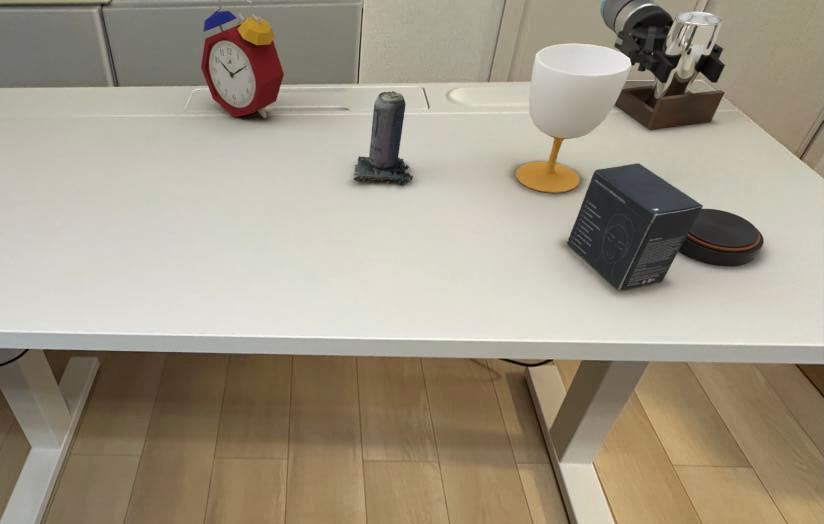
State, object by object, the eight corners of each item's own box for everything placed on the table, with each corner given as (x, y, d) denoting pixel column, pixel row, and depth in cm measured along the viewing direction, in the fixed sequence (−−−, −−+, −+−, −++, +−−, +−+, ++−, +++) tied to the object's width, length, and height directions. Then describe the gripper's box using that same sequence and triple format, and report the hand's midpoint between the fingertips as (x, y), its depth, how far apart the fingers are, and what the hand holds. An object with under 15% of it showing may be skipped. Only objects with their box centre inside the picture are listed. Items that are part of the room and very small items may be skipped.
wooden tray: (669, 96, 106) (681, 68, 103) (710, 122, 99) (725, 92, 95) (612, 103, 105) (622, 74, 102) (649, 129, 98) (662, 99, 94)
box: (665, 281, 70) (706, 205, 63) (617, 292, 69) (653, 216, 62) (608, 233, 77) (639, 160, 70) (564, 243, 76) (590, 169, 69)
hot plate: (719, 216, 79) (728, 200, 77) (775, 259, 72) (786, 243, 70) (650, 226, 78) (658, 210, 77) (700, 271, 71) (710, 255, 69)
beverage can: (403, 160, 94) (411, 84, 85) (414, 185, 88) (423, 105, 80) (346, 164, 94) (349, 88, 85) (354, 189, 88) (358, 110, 80)
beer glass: (688, 121, 99) (732, 24, 88) (644, 120, 100) (682, 24, 89) (675, 104, 104) (715, 10, 93) (633, 103, 105) (668, 10, 94)
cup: (513, 197, 85) (544, 76, 73) (501, 158, 93) (527, 43, 81) (598, 199, 83) (645, 75, 71) (578, 159, 92) (617, 42, 80)
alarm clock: (205, 108, 112) (189, -11, 98) (236, 93, 116) (225, -23, 102) (263, 127, 105) (254, 2, 90) (294, 110, 109) (290, -12, 95)
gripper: (691, 48, 110) (747, 97, 94) (581, 49, 112) (618, 98, 96) (710, 3, 105) (773, 48, 89) (594, 5, 107) (635, 49, 91)
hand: (692, 74), depth 93 cm, fingers closed on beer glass, 7 cm apart
